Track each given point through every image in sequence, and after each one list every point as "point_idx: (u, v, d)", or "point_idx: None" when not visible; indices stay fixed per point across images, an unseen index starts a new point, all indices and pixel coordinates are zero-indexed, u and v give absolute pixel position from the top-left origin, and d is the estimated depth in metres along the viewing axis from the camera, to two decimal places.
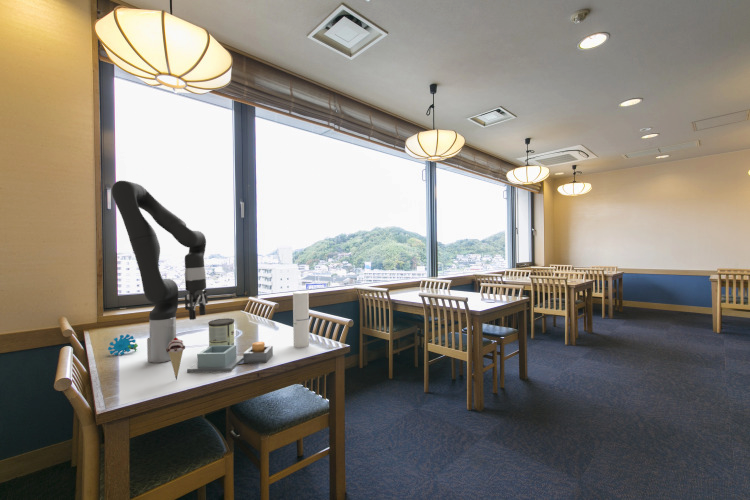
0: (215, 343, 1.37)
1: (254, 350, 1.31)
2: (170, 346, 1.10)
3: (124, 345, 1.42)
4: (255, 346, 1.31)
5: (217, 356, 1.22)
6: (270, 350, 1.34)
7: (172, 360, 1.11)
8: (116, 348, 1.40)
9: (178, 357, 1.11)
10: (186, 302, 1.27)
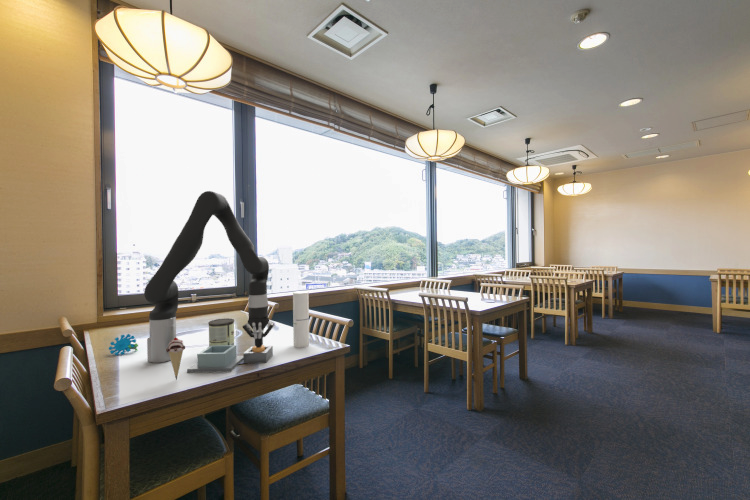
0: (215, 343, 1.37)
1: None
2: (170, 346, 1.10)
3: (124, 345, 1.42)
4: (255, 350, 1.31)
5: (217, 356, 1.22)
6: (270, 350, 1.34)
7: (172, 360, 1.11)
8: (117, 348, 1.41)
9: (178, 357, 1.11)
10: (269, 331, 1.32)
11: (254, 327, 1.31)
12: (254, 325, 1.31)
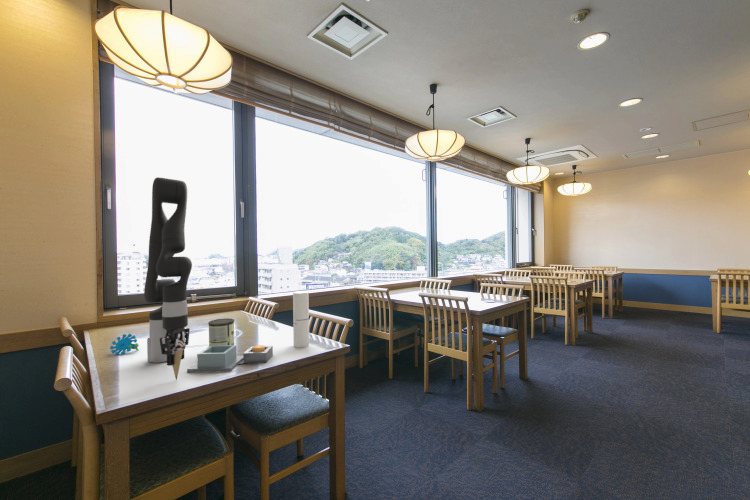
0: (215, 343, 1.37)
1: None
2: None
3: (125, 344, 1.42)
4: (255, 350, 1.31)
5: (217, 356, 1.22)
6: (270, 350, 1.34)
7: None
8: (118, 347, 1.41)
9: (178, 357, 1.11)
10: None
11: (177, 339, 1.11)
12: (178, 337, 1.11)
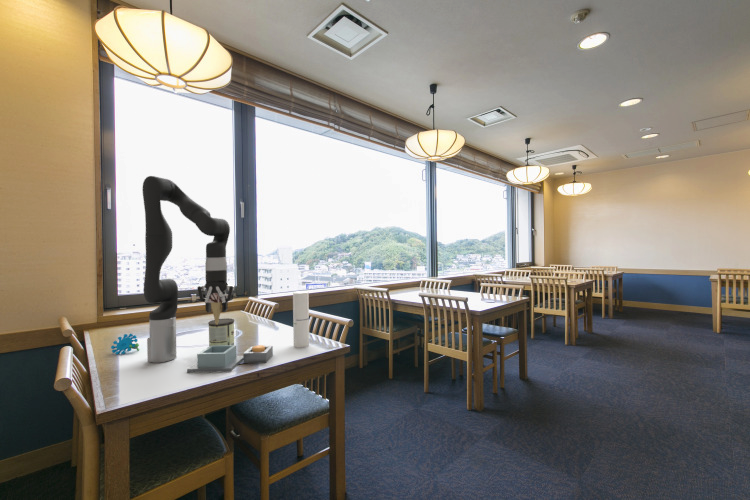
0: (215, 343, 1.37)
1: None
2: None
3: (126, 344, 1.43)
4: (255, 350, 1.31)
5: (217, 356, 1.22)
6: (270, 350, 1.34)
7: None
8: (118, 347, 1.42)
9: (212, 307, 1.25)
10: (231, 293, 1.26)
11: (209, 291, 1.25)
12: (210, 289, 1.24)
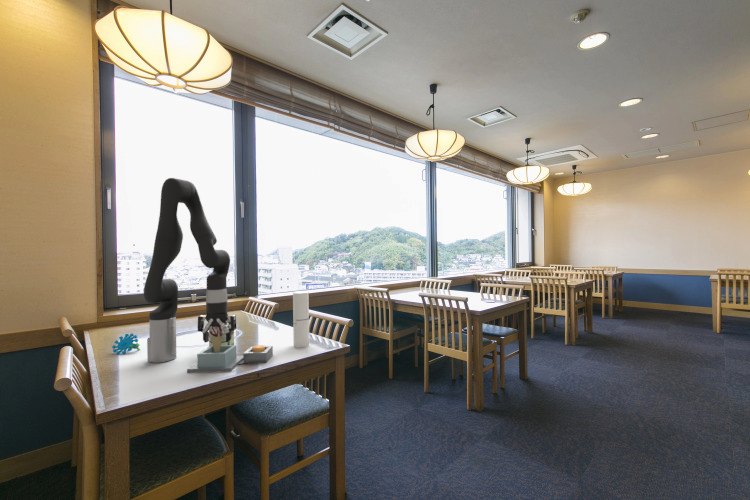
0: None
1: None
2: None
3: (126, 344, 1.43)
4: (255, 350, 1.31)
5: (217, 356, 1.22)
6: (270, 350, 1.34)
7: None
8: (119, 347, 1.42)
9: (212, 341, 1.25)
10: (234, 323, 1.26)
11: (209, 323, 1.25)
12: (210, 321, 1.25)
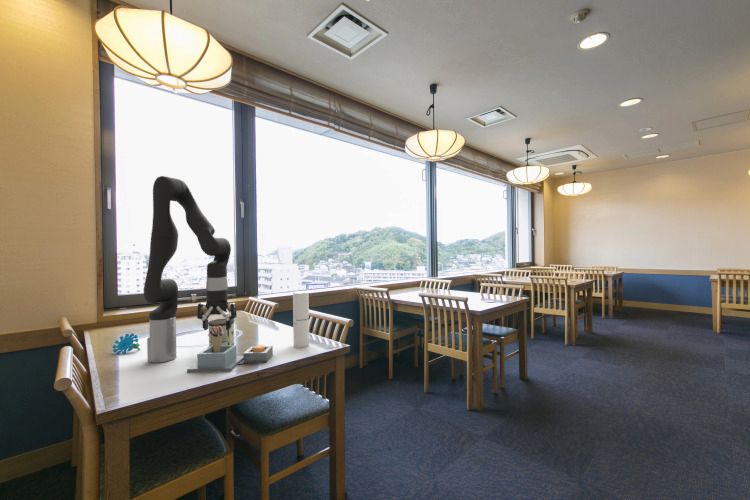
0: None
1: None
2: None
3: (127, 344, 1.43)
4: (255, 350, 1.31)
5: (217, 356, 1.22)
6: (270, 350, 1.34)
7: None
8: (119, 347, 1.42)
9: (212, 341, 1.25)
10: (234, 311, 1.26)
11: (209, 311, 1.25)
12: (210, 309, 1.25)
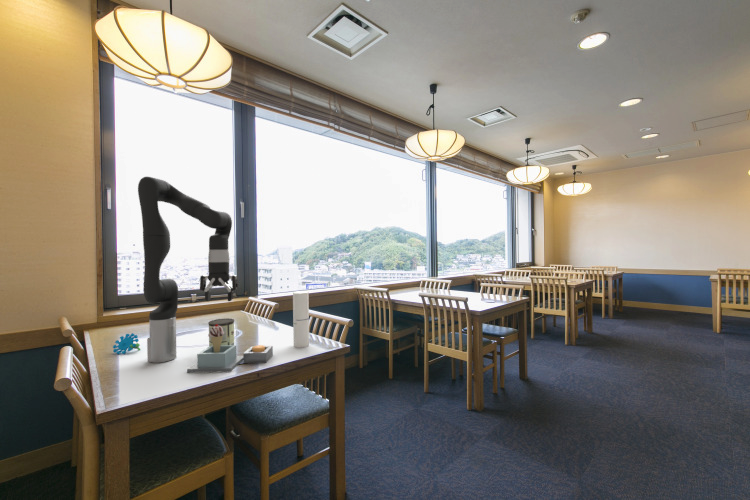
0: None
1: None
2: None
3: (127, 344, 1.43)
4: (255, 350, 1.31)
5: (217, 356, 1.22)
6: (270, 350, 1.34)
7: None
8: (120, 347, 1.42)
9: (212, 342, 1.25)
10: (235, 282, 1.29)
11: (211, 282, 1.28)
12: (212, 281, 1.28)
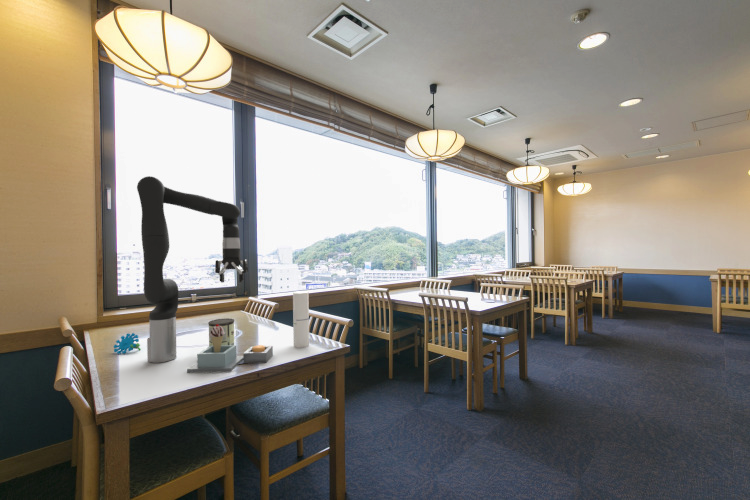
0: None
1: None
2: None
3: (127, 344, 1.43)
4: (255, 350, 1.31)
5: (217, 356, 1.22)
6: (270, 350, 1.34)
7: None
8: (120, 346, 1.43)
9: (212, 341, 1.25)
10: (246, 266, 1.50)
11: (225, 266, 1.48)
12: (226, 264, 1.48)
